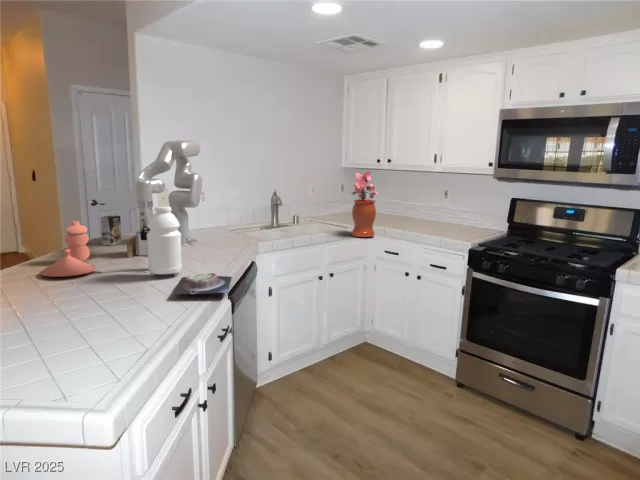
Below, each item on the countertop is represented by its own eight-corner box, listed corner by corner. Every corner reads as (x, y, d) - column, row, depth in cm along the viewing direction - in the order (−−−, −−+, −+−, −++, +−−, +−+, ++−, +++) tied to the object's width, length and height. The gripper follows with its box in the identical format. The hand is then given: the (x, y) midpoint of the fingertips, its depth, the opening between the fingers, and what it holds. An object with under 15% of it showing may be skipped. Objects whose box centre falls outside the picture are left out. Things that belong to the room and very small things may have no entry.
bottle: (188, 268, 191) (186, 206, 186) (168, 275, 178) (165, 209, 173) (162, 265, 195) (160, 204, 190) (141, 272, 182) (137, 207, 177)
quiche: (227, 293, 157) (227, 282, 156) (171, 294, 155) (170, 284, 154) (232, 276, 177) (231, 267, 177) (181, 277, 175) (181, 268, 174)
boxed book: (156, 253, 220) (155, 231, 218) (153, 255, 215) (152, 232, 213) (140, 253, 220) (139, 230, 217) (137, 255, 215) (136, 232, 212)
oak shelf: (165, 251, 226) (164, 235, 224) (157, 257, 211) (157, 239, 210) (136, 251, 224) (135, 235, 222) (127, 257, 210) (126, 239, 208)
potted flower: (352, 238, 282) (355, 170, 274) (344, 232, 307) (347, 169, 299) (380, 238, 285) (383, 170, 277) (370, 232, 310) (373, 170, 302)
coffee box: (111, 245, 239) (110, 217, 236) (101, 245, 240) (99, 216, 237) (122, 243, 247) (120, 215, 245) (112, 242, 249) (111, 215, 246)
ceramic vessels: (91, 274, 177) (88, 230, 174) (32, 277, 170) (28, 231, 167) (104, 257, 209) (102, 219, 206) (55, 259, 203) (52, 220, 200)
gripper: (147, 207, 205) (150, 241, 209) (157, 202, 222) (159, 234, 226) (131, 207, 204) (134, 241, 208) (142, 202, 221) (144, 234, 225)
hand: (147, 238), depth 217 cm, fingers open, 9 cm apart
